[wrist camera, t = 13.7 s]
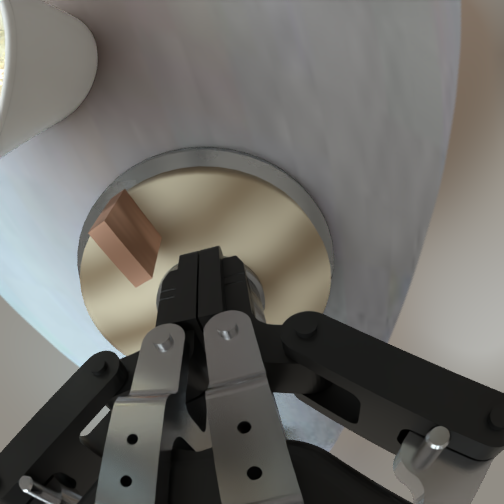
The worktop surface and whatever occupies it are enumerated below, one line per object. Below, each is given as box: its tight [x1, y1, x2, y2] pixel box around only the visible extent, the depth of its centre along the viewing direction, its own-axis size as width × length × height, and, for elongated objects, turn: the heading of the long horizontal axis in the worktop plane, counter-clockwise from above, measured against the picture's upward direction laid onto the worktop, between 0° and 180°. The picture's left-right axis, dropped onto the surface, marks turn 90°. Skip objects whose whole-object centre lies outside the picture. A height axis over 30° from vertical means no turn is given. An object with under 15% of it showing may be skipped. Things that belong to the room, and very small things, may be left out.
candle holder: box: [0, 0, 98, 159], centre depth 11 cm, size 10×10×12 cm
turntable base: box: [78, 147, 334, 278], centre depth 26 cm, size 21×21×1 cm
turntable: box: [80, 166, 331, 356], centre depth 22 cm, size 20×19×6 cm
